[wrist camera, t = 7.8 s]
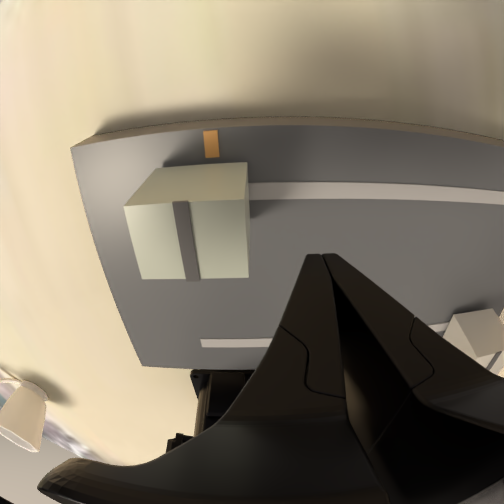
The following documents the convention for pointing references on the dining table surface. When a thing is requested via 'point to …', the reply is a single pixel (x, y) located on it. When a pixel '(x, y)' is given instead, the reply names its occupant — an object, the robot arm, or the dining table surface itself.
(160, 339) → the console
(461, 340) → the block
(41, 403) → the cup
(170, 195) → the sage fader
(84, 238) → the dining table surface
